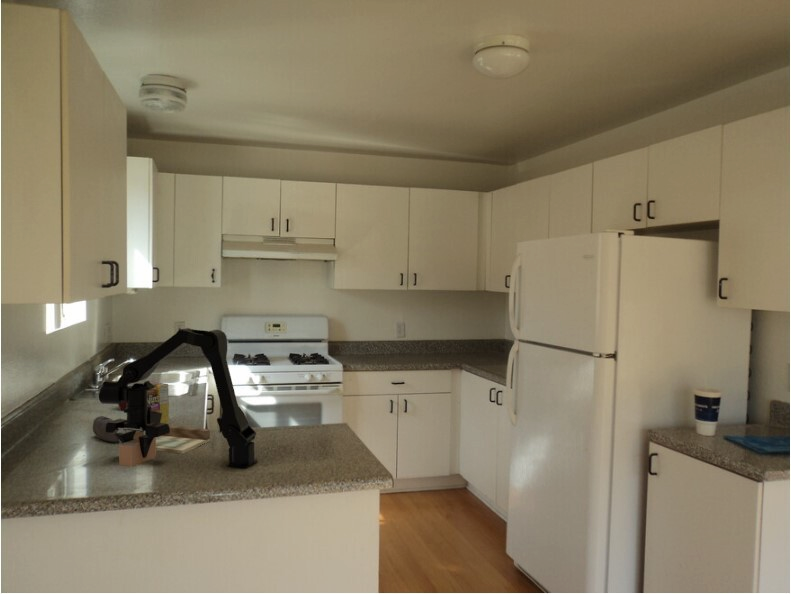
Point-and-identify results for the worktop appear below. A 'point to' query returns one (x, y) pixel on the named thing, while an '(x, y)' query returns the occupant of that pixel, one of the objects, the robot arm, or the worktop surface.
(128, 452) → the terracotta block
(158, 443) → the wooden structure
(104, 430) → the grey stone
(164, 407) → the candy box
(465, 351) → the worktop surface
